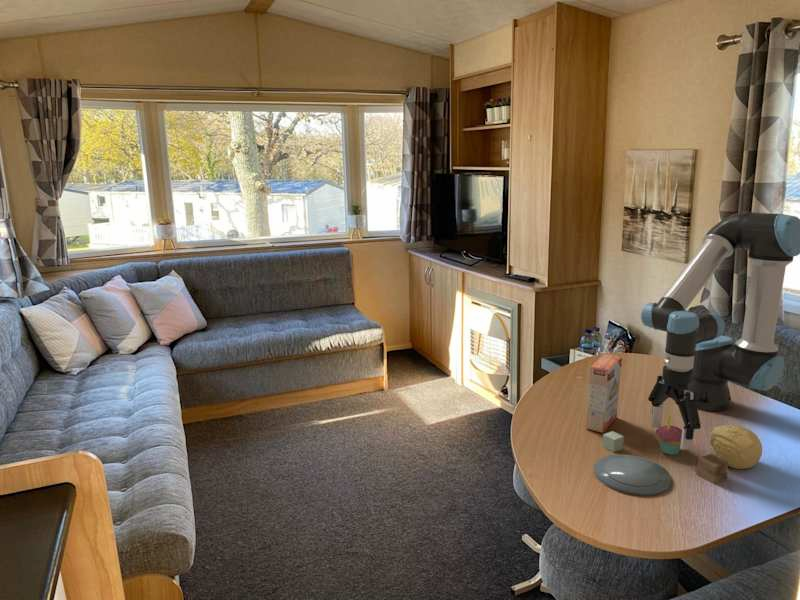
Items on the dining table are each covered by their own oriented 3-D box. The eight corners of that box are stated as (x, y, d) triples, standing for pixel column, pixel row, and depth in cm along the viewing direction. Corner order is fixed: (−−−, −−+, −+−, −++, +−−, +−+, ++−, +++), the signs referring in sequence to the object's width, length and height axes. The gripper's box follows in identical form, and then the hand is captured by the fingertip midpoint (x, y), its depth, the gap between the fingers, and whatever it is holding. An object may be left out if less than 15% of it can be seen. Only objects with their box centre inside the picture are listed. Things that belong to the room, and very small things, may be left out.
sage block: (611, 443, 176) (612, 431, 175) (622, 449, 173) (623, 436, 172) (602, 446, 174) (603, 434, 173) (613, 452, 171) (614, 439, 170)
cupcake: (670, 460, 166) (674, 420, 163) (646, 447, 174) (650, 408, 171) (692, 453, 169) (697, 414, 166) (668, 440, 177) (672, 403, 174)
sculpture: (701, 458, 167) (705, 422, 164) (730, 448, 172) (735, 414, 169) (738, 478, 157) (743, 440, 154) (768, 467, 161) (774, 431, 159)
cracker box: (604, 434, 182) (609, 369, 176) (585, 429, 185) (589, 366, 180) (618, 417, 192) (623, 356, 187) (599, 413, 196) (603, 353, 191)
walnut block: (709, 470, 161) (711, 453, 159) (726, 479, 156) (728, 462, 155) (696, 474, 159) (698, 458, 157) (713, 484, 154) (715, 466, 153)
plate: (643, 454, 169) (644, 450, 169) (686, 490, 151) (687, 486, 151) (581, 461, 166) (581, 457, 166) (618, 499, 148) (618, 495, 148)
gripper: (640, 353, 176) (633, 419, 181) (695, 384, 153) (686, 460, 158) (663, 352, 178) (656, 417, 183) (721, 382, 154) (711, 457, 159)
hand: (670, 437), depth 170 cm, fingers open, 13 cm apart
